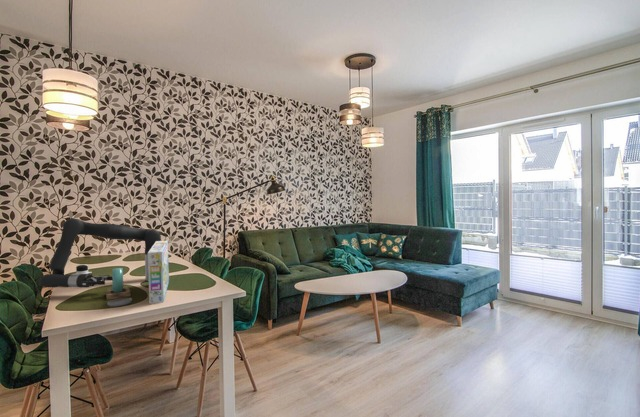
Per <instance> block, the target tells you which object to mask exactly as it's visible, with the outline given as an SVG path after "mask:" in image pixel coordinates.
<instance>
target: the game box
mask: <svg viewBox="0 0 640 417" xmlns="http://www.w3.org/2000/svg"><path fill="white" fill-rule="evenodd" d="M169 266H170V265H169V241H168V240H161V241H156V242H155V243H154V245H153V246H152V248H151V249H150V250H149V252H148V277H149V281H148V304H149V305H152V304H153V305H154V304H162V303H163V304H164V302H165V299H166V294H167V291H168V286H169V283H170V271H169V268H170V267H169Z"/></svg>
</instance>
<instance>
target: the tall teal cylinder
mask: <svg viewBox="0 0 640 417" xmlns="http://www.w3.org/2000/svg"><path fill="white" fill-rule="evenodd" d="M111 274H112V275H111V276H112V289H113V293H120V292H123V288H124V268H122V267H115V268H112V270H111Z"/></svg>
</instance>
